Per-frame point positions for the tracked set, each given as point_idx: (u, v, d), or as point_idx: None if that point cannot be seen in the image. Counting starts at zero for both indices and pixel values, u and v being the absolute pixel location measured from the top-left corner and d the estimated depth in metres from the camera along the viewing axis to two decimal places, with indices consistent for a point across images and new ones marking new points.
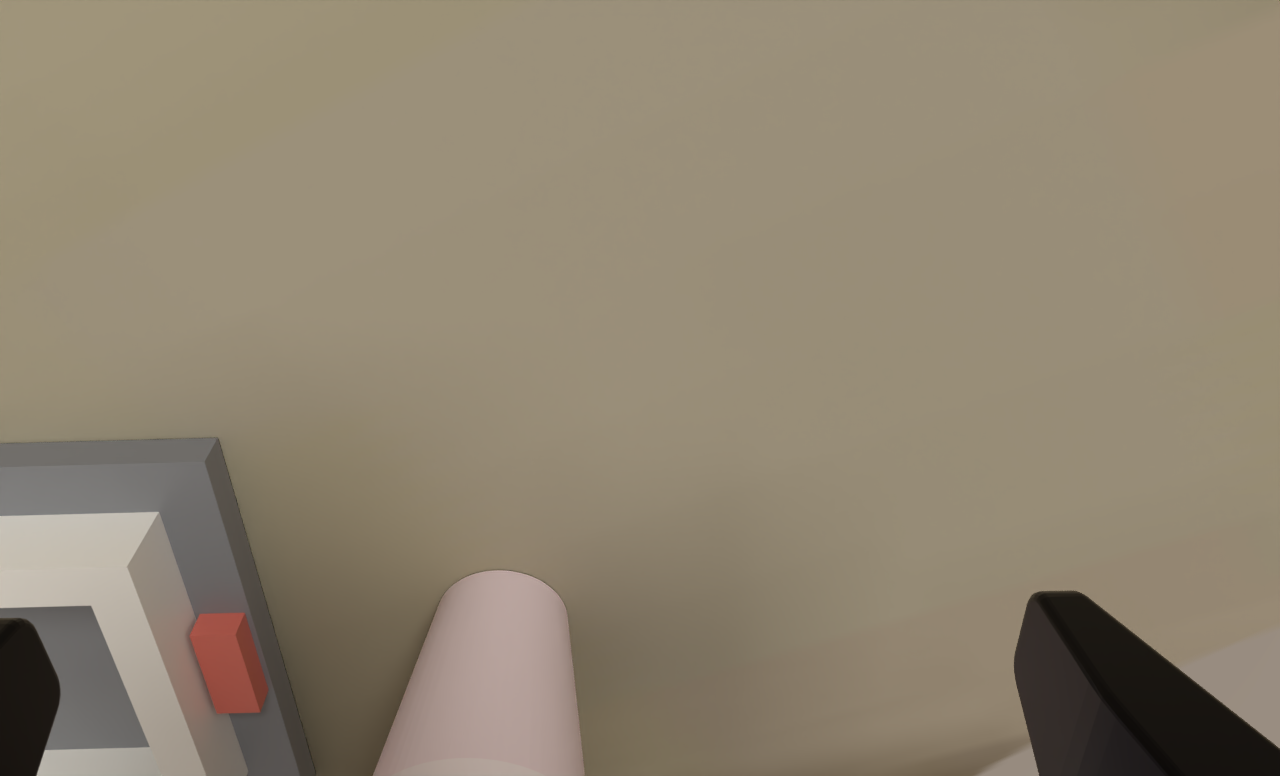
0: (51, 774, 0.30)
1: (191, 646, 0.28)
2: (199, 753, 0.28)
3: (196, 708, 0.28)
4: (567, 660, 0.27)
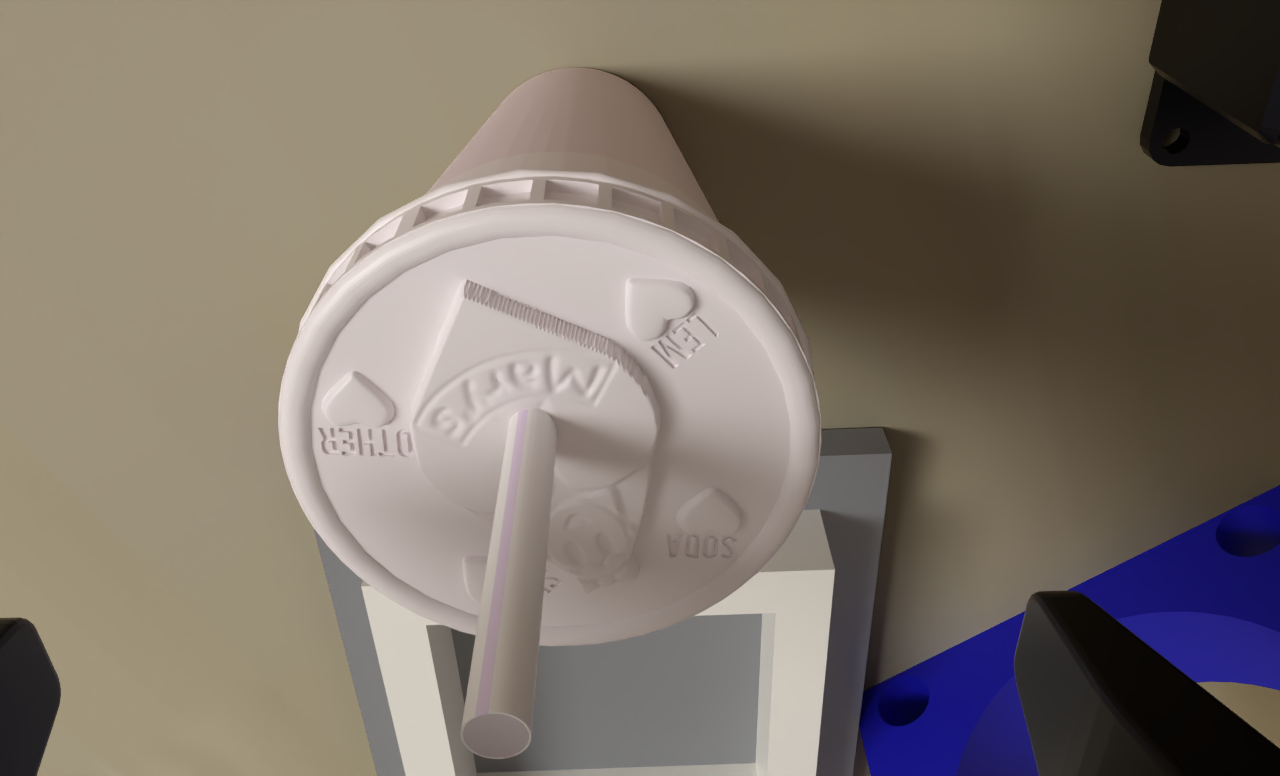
0: (764, 695, 0.26)
1: None
2: None
3: None
4: (519, 100, 0.17)
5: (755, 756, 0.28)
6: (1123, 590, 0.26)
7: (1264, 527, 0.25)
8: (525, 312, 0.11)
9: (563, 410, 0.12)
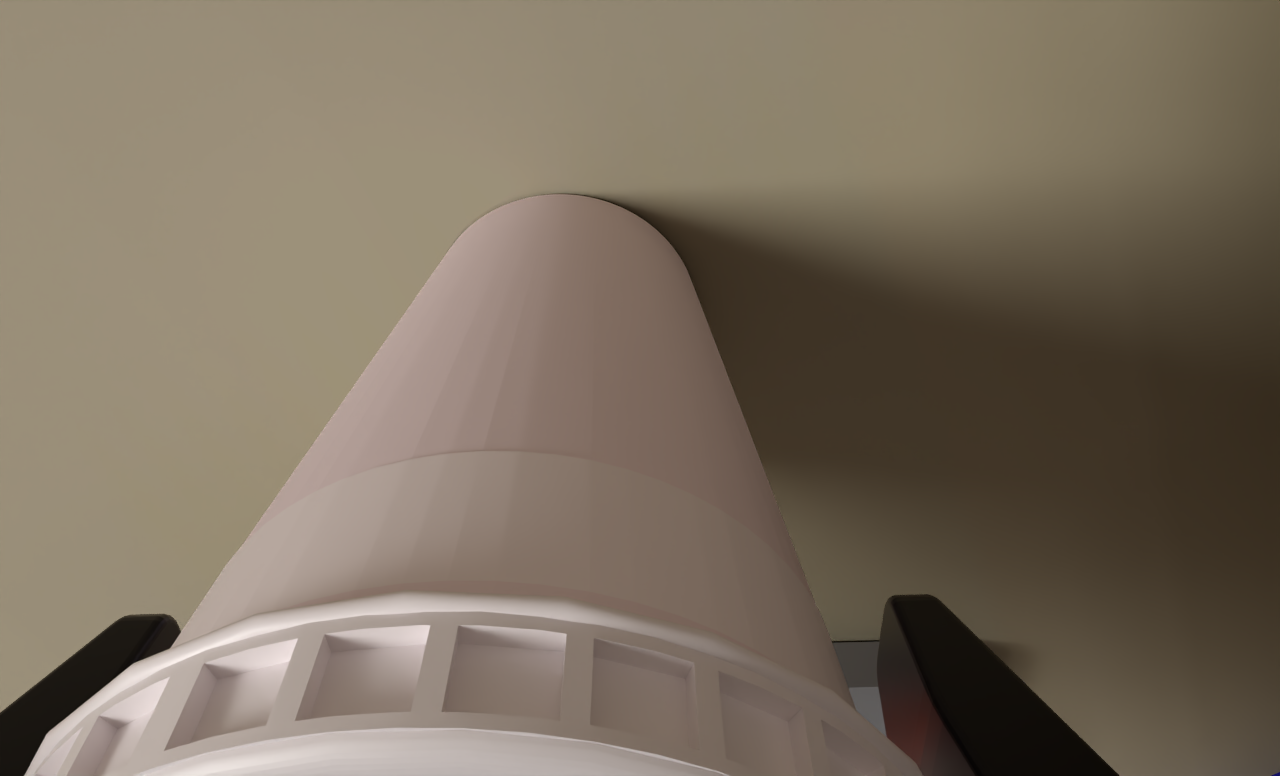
0: None
1: None
2: None
3: None
4: (472, 264, 0.12)
5: None
6: None
7: None
8: None
9: None
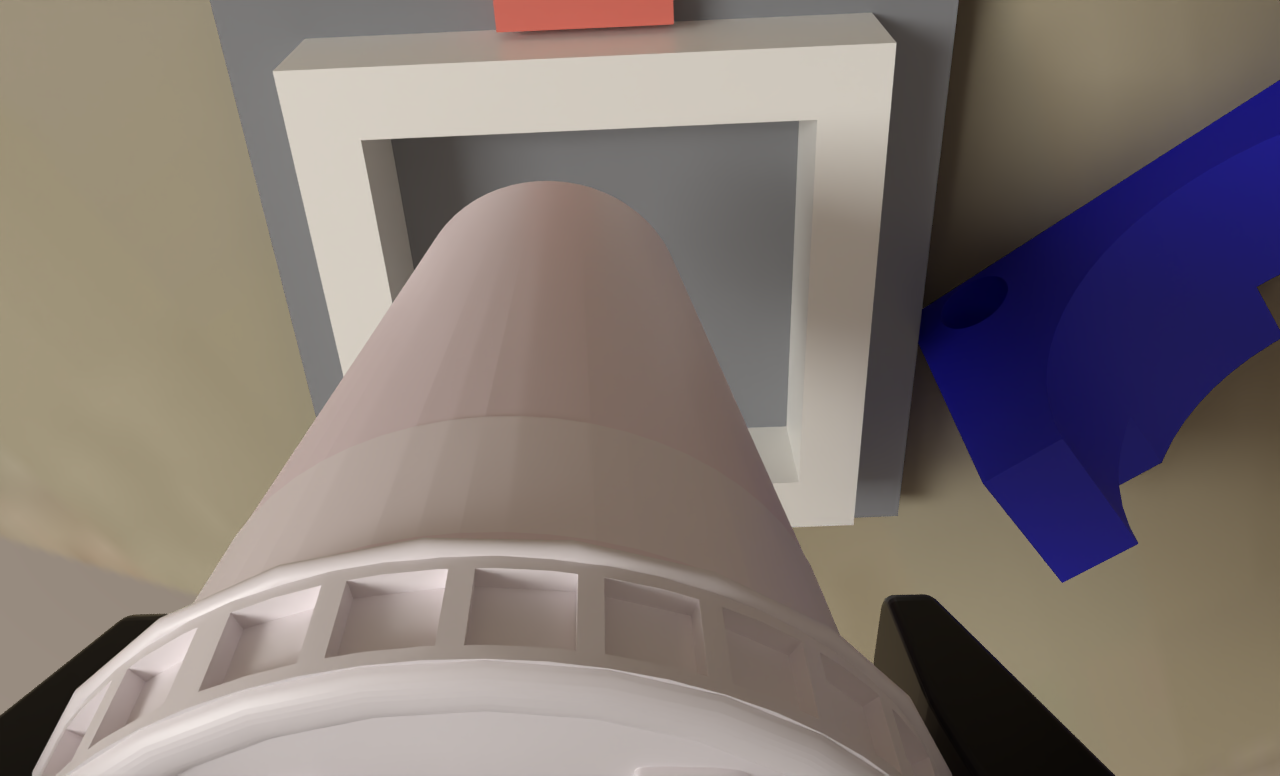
0: (798, 297, 0.20)
1: (531, 37, 0.18)
2: (689, 51, 0.17)
3: (623, 44, 0.17)
4: (462, 248, 0.12)
5: (786, 415, 0.23)
6: (1263, 116, 0.20)
7: None
8: None
9: None
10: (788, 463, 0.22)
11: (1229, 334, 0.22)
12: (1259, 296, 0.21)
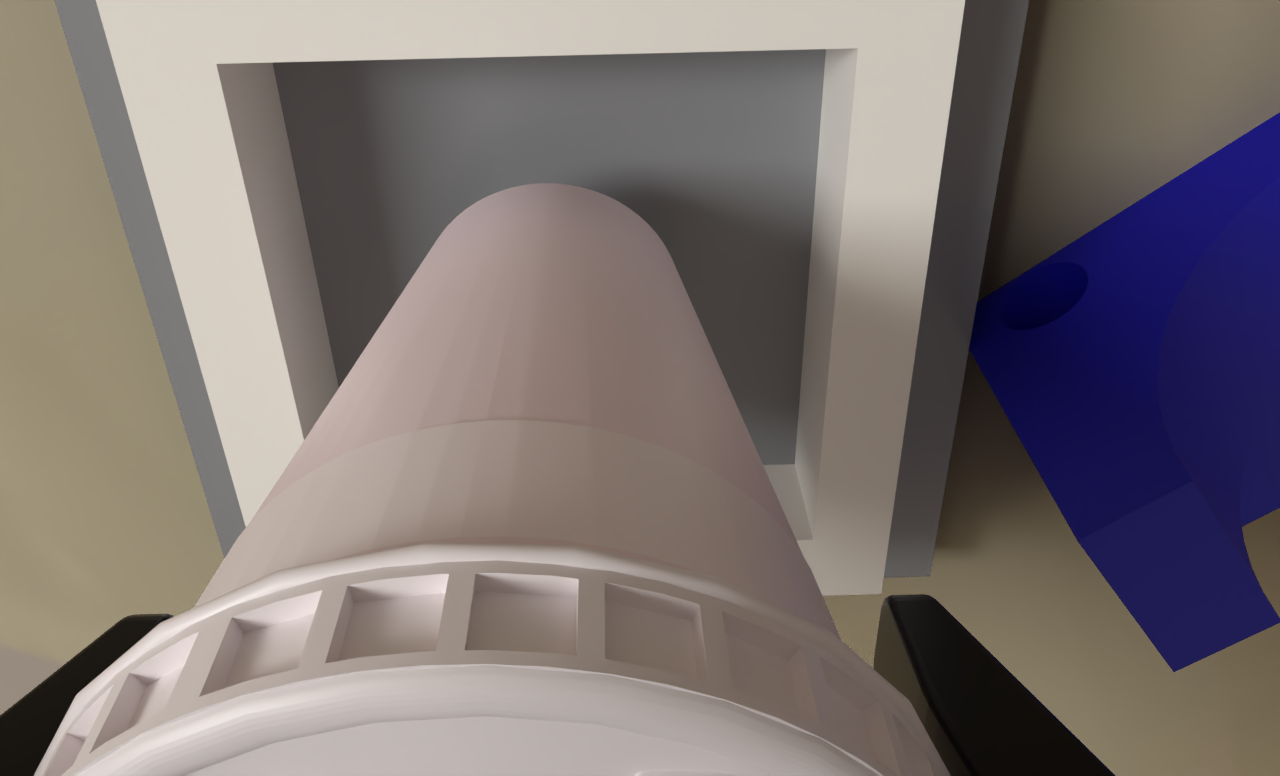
0: (818, 299, 0.15)
1: None
2: None
3: None
4: (463, 251, 0.12)
5: (795, 450, 0.18)
6: None
7: None
8: None
9: None
10: (798, 513, 0.17)
11: None
12: None
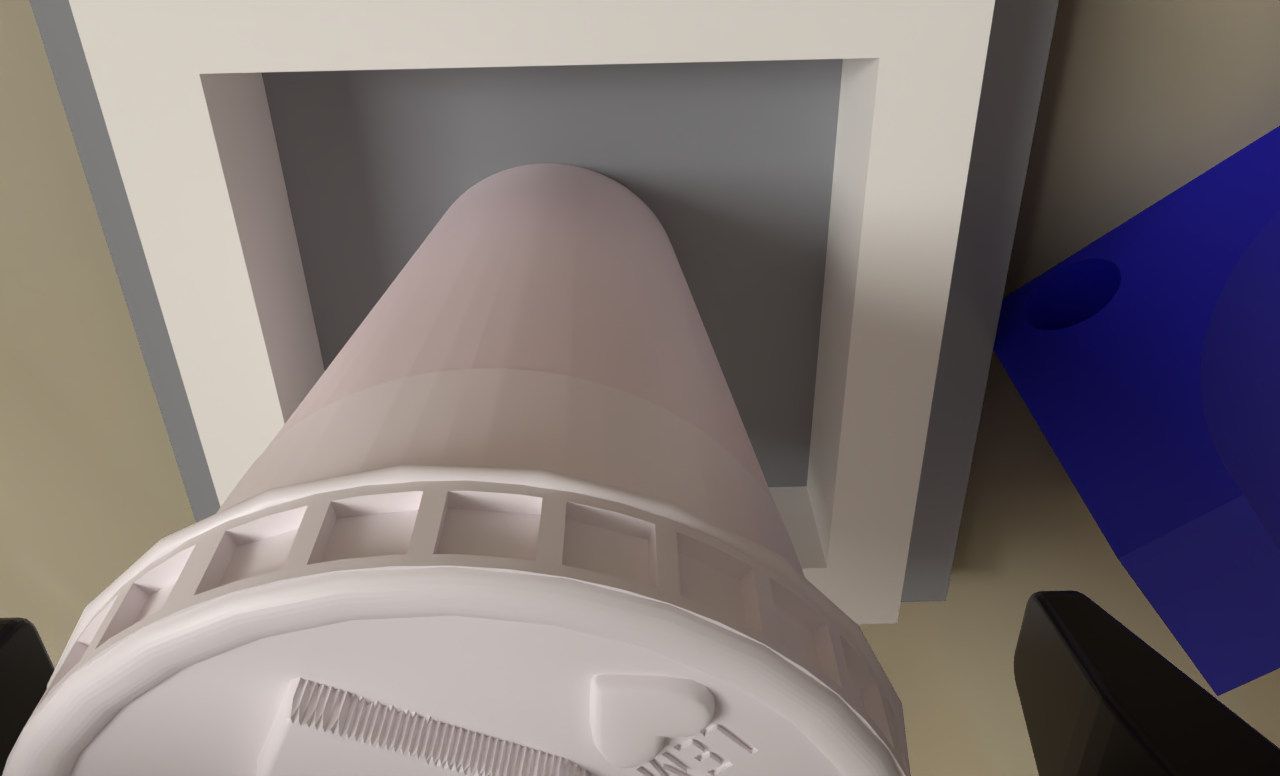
0: (833, 318, 0.15)
1: None
2: None
3: None
4: (462, 224, 0.12)
5: (807, 472, 0.17)
6: None
7: None
8: (409, 731, 0.06)
9: None
10: (811, 539, 0.16)
11: None
12: None
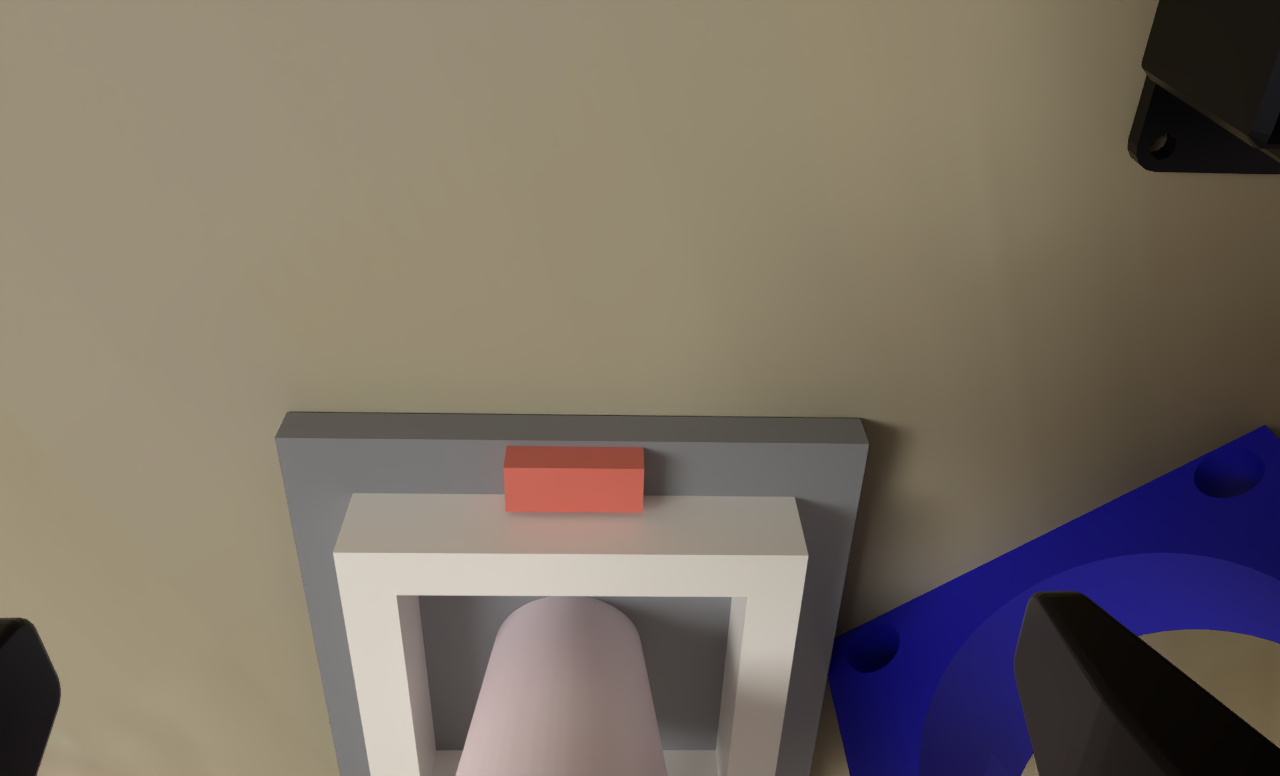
0: (729, 681, 0.26)
1: (532, 512, 0.23)
2: (653, 552, 0.22)
3: (602, 534, 0.23)
4: (528, 664, 0.23)
5: (716, 743, 0.28)
6: (1099, 534, 0.25)
7: (1242, 471, 0.25)
8: None
9: None
10: None
11: None
12: None
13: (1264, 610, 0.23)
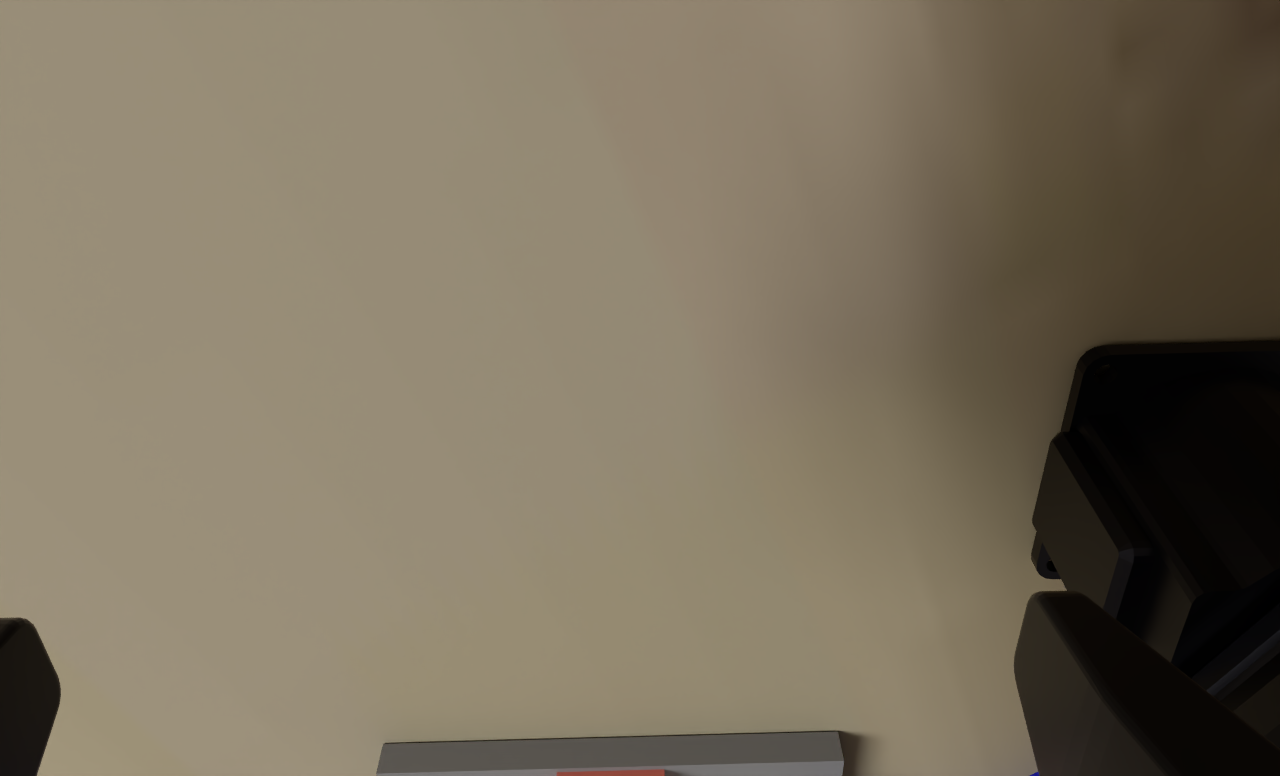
0: None
1: None
2: None
3: None
4: None
5: None
6: None
7: None
8: None
9: None
10: None
11: None
12: None
13: None
